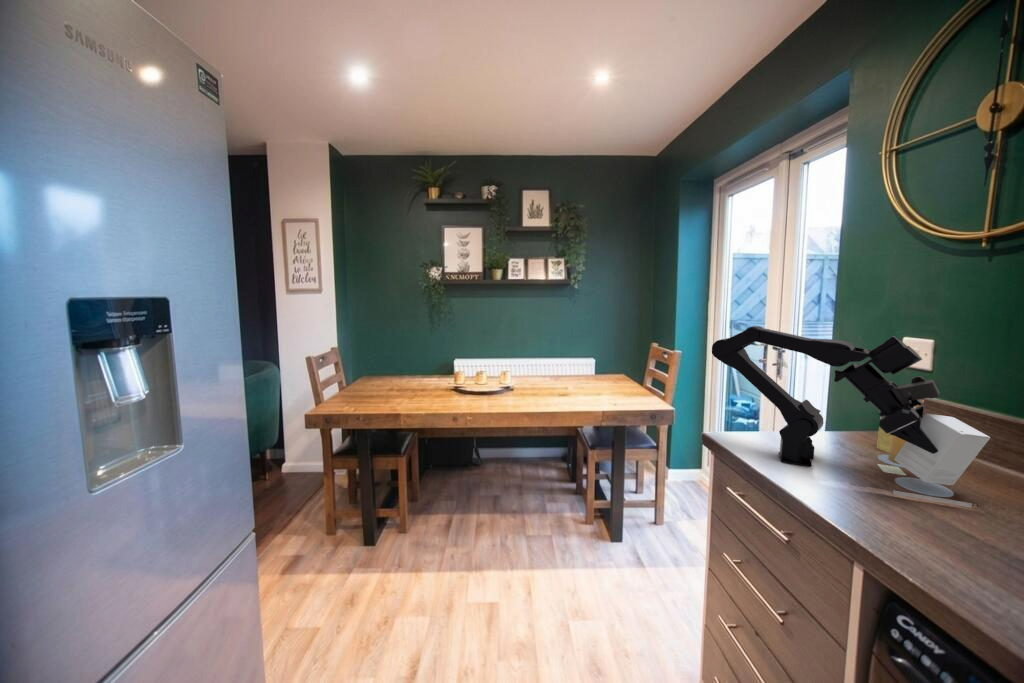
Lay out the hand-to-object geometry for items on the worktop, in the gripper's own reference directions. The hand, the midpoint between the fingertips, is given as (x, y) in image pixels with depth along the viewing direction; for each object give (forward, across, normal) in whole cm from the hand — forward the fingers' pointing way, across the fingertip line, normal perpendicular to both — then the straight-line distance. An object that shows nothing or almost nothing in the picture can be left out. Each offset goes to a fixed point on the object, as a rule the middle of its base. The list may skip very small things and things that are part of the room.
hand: (936, 446), depth 85 cm
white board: (+5, +8, +10) cm, 14 cm away
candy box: (+3, +24, +13) cm, 28 cm away
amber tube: (+3, +14, +10) cm, 18 cm away
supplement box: (+3, 0, +6) cm, 7 cm away
